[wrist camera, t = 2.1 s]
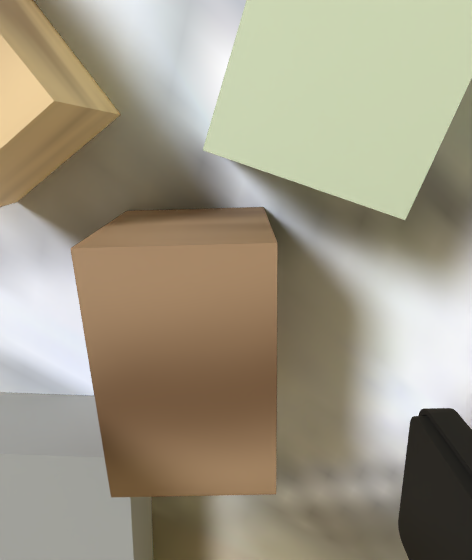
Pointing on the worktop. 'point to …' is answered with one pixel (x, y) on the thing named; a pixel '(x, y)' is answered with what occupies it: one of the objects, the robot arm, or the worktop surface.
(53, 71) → the oak block
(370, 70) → the sage block
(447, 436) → the robot arm
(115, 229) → the walnut block
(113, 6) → the worktop surface
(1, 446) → the slate block
